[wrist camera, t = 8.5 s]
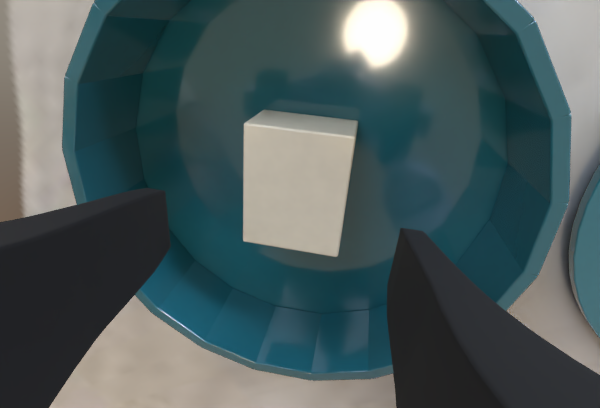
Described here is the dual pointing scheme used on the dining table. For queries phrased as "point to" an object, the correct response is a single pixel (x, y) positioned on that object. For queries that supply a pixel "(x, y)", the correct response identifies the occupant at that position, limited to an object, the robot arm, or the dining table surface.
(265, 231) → the block
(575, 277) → the lid
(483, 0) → the pan
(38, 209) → the dining table surface
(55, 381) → the robot arm
